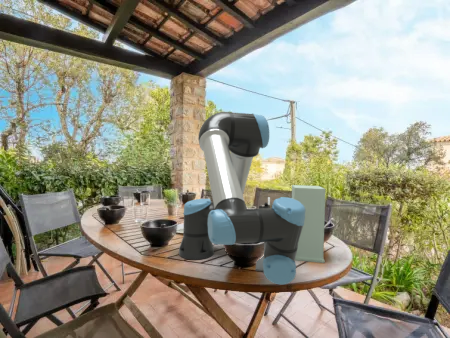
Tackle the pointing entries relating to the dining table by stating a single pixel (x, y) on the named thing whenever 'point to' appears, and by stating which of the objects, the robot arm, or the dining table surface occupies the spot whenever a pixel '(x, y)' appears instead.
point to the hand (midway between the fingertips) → (275, 200)
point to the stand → (311, 223)
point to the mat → (260, 264)
